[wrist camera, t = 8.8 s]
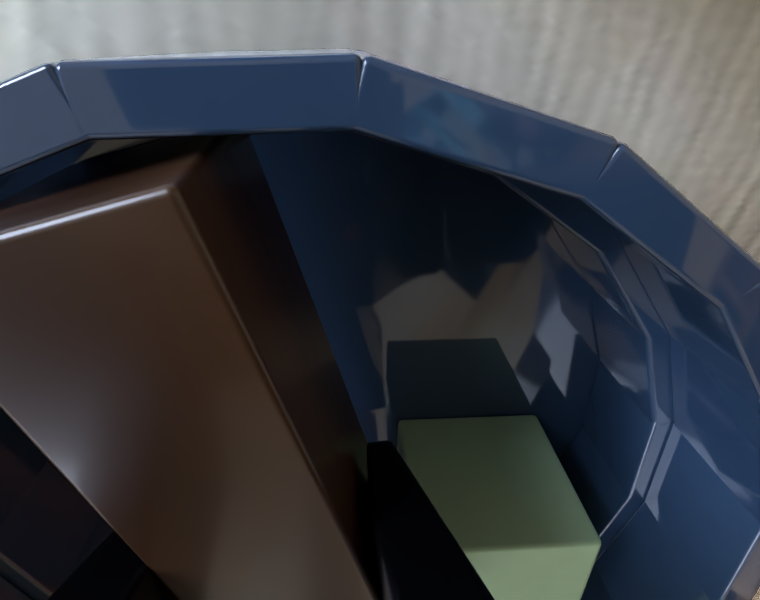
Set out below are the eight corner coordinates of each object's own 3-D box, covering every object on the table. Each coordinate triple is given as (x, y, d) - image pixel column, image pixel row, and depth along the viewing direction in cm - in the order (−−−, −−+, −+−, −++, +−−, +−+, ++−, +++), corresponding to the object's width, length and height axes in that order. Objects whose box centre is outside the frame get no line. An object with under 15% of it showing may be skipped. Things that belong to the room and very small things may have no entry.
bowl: (566, 558, 16) (652, 757, 11) (101, 595, 15) (0, 823, 11) (711, 38, 8) (1113, 33, 4) (-187, 62, 8) (-900, 86, 3)
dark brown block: (242, 114, 6) (173, 184, 3) (400, 527, 10) (423, 691, 8) (65, 166, 6) (-136, 270, 3) (298, 552, 11) (287, 722, 8)
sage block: (515, 506, 13) (566, 643, 10) (393, 512, 13) (409, 653, 10) (536, 413, 12) (604, 543, 9) (397, 418, 12) (417, 553, 8)
